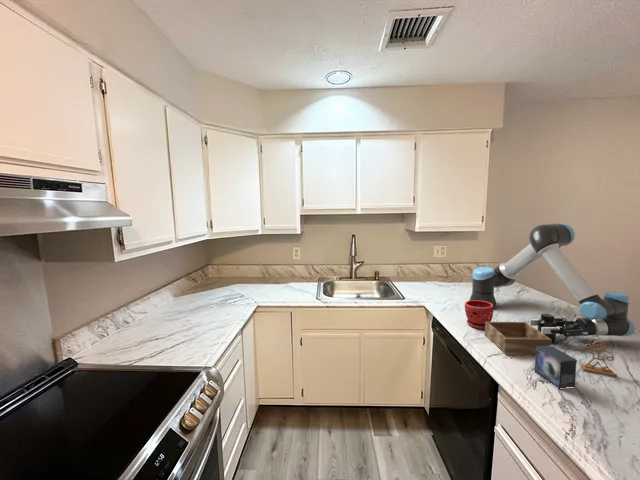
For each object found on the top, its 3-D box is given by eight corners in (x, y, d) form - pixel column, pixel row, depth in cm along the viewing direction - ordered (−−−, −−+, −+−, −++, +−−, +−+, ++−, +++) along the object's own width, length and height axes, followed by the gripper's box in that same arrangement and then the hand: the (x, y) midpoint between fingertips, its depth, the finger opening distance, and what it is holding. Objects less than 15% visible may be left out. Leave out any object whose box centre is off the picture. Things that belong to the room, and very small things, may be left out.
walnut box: (484, 335, 137) (485, 321, 137) (524, 336, 135) (525, 321, 135) (504, 354, 120) (505, 339, 119) (550, 355, 118) (551, 339, 117)
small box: (532, 372, 107) (534, 345, 106) (548, 370, 107) (550, 344, 106) (558, 390, 96) (560, 361, 95) (576, 388, 97) (578, 359, 96)
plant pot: (491, 322, 152) (491, 300, 151) (494, 332, 140) (495, 309, 139) (463, 319, 158) (464, 298, 156) (464, 328, 146) (465, 306, 145)
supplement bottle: (559, 344, 127) (561, 318, 125) (542, 343, 128) (543, 317, 127) (550, 337, 133) (551, 312, 132) (533, 336, 135) (535, 312, 133)
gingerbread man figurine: (611, 372, 105) (614, 341, 104) (616, 377, 102) (618, 346, 100) (580, 366, 110) (582, 336, 108) (583, 371, 106) (585, 340, 105)
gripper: (610, 345, 118) (550, 345, 121) (572, 325, 138) (522, 324, 141) (611, 328, 117) (551, 328, 120) (573, 310, 138) (522, 310, 140)
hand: (535, 326), depth 130 cm, fingers open, 8 cm apart
